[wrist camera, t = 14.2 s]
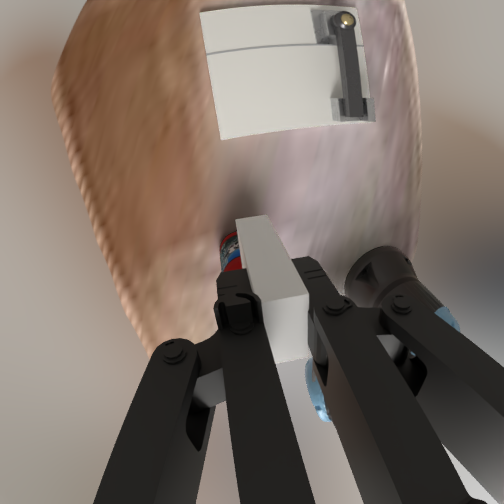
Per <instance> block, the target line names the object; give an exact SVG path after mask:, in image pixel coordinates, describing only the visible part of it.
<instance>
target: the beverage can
mask: <svg viewBox="0 0 504 504" xmlns="http://www.w3.org/2000/svg"><path fill="white" fill-rule="evenodd" d="M220 261H221V270H222V272H226V271H232V270H237V269H243V268H242V262H241V255H240V248H239V241H238V234H237V232H233V233H231V234H229V235H228V236H227V237H225V239H224V240H223V241H222V243H221V245H220Z"/></svg>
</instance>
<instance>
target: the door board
mask: <svg viewBox="0 0 504 504" xmlns="http://www.w3.org/2000/svg"><path fill="white" fill-rule="evenodd" d="M310 10H334V11H348V12H350V13H351V14H352V15H353V16H354V17H355V19H356V26H355V27H354V31H355V37H356V44H357V52H358V60H359V68H360V78H361V88H362V98H370V92H369V83H368V75H367V67H366V60H365V53H364V46H363V41H362V35H361V29H360V24H359V19H358V14H357V9H356V8H353V7H342V6H328V5H263V6H249V7H238V8H229V9H221V10H214V11H207V12H201V13H200V20H201V26H202V32H203V38H204V44H205V50H206V56H207V62H208V68H209V74H210V80H211V86H212V92H213V97H214V103H215V109H216V115H217V121H218V126H219V132H220V138H221V140H225V139H231V138H236V137H242V136H248V135H255V134H261V133H268V132H275V131H283V130H291V129H299V128H309V127H319V126H330V125H343V124H358V123H372V122H366V121H345V122H339V121H333V119H332V110H331V101H330V98H343V94H342V84H341V74H340V65H339V57H338V49H337V45H316V40H315V34H314V28H313V23H312V18H311V13H310Z"/></svg>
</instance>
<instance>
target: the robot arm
mask: <svg viewBox="0 0 504 504" xmlns="http://www.w3.org/2000/svg"><path fill="white" fill-rule="evenodd" d="M235 221H236V228H237V234H238V241H239V248H240V255H241V262H242V268H243V269H237V270H232V271H226V272H221V273H220V275H219V277H218V278H217V280H216V282H217V294H218V300H217V301H216V302H215V304H214V308H213V309H214V313H215V317H216V321H217V325H218V330H217V331H216V333H215V334H214V335H213V336H211V337H210V338H209V339H207V340H205V341H202V342H200V343H197V344H195V345H194V343H192V342H191V341H189V340H187V339H182V338H178V339H171V340H168V341H165V342H163V343H162V344H161V345H159V346H158V347H157V348H156V349H155V351H154V352H153V354H152V356H151V359H150V361H149V363H148V365H147V368H146V370H145V372H144V375H143V377H142V379H141V382H140V384H139V386H138V389H137V391H136V393H135V396H134V398H133V401H132V403H131V406H130V408H129V410H128V413H127V416H126V418H125V420H124V423H123V425H122V428H121V430H120V433H119V435H118V438H117V440H116V443H115V446H114V448H113V451H112V453H111V456H110V459H109V461H108V464H107V467H106V469H105V472H104V475H103V477H102V480H101V483H100V486H99V489H98V491H97V494H96V497H95V500H94V503H93V504H196V499H197V494H198V490H199V485H200V480H201V474H202V470H203V465H204V461H205V455H206V451H207V446H208V441H209V436H210V431H211V427H212V422H213V417H214V412H215V408H216V405H217V404H219V403H221V402H224V401H226V403H227V411H228V420H229V428H230V435H231V442H232V450H233V457H234V464H235V471H236V478H237V484H238V491H239V497H240V504H315V500H314V497H313V493H312V490H311V487H310V484H309V480H308V477H307V473H306V470H305V466H304V463H303V459H302V456H301V452H300V449H299V445H298V442H297V438H296V435H295V432H294V428H293V424H292V421H291V417H290V414H289V410H288V407H287V404H286V400H285V396H284V393H283V389H282V386H281V382H280V379H279V375H278V372H277V368H276V364H278V363H283V362H287V361H292V360H296V359H301V358H306V357H308V356H309V348H310V351H311V353H312V356H313V357H311V358H310V359H309V360H308V361H307V363H306V366H305V378H306V384H307V388H308V391H309V395H310V398H311V401H312V403H313V405H314V406H315V409H316V412H317V414H318V416H319V417H320V418H321V419H322V420H323V421H325V422H327V421H329V422H330V421H332V422H333V424H334V426H335V428H336V430H337V432H338V435H339V438H340V440H341V443H342V446H343V448H344V451H345V454H346V456H347V459H348V462H349V465H350V467H351V470H352V473H353V475H354V478H355V481H356V484H357V486H358V489H359V492H360V494H361V497H362V500H363V502H364V504H487V503H486V502H484V501H482V500H478V499H474V498H472V497H471V496H470V495H469V494H468V492H467V491H466V489H465V487H464V485H463V483H462V481H461V479H460V477H459V475H458V473H457V471H456V469H455V468H454V465H453V464H452V462H451V460H450V458H449V456H448V454H447V453H446V451H445V449H444V447H443V445H444V446H445V447H446V448H447V449H448V450H449V451H450V452H451V453H452V454H453V455H454V457H455V458H456V459H457V460H458V461H460V463H461V464H462V465H463V466H464V467H465V468H466V469H467V470H468V471H469V472H470V473H471V475H472V476H473V477H474V478H475V479H476V480H477V481H478V482H479V483H480V484H481V485H482V486H483V487H484V488H485V489H486V491H487V492H488V493H489V494H490V495H491V496H492V497H493V498H494V499H495V500H496V501H497V502H498V503H499V504H504V367H502V366H501V365H500V364H499V363H498V362H496V361H495V360H494V359H493V358H491V357H490V356H489V355H488V354H486V353H485V352H484V351H483V350H482V349H480V348H479V347H478V346H477V345H475V344H474V343H473V342H472V341H470V340H469V339H468V338H466V337H465V336H464V335H463V334H461V333H460V327H459V324H458V322H457V320H456V319H455V318H454V317H453V316H452V314H451V313H450V311H449V309H448V308H447V307H445V306H444V305H443V304H442V303H441V302H440V301H439V300H438V299H437V298H436V297H435V296H434V295H433V294H432V293H431V292H430V291H429V290H428V289H427V288H426V287H425V286H424V285H423V284H422V283H421V282H420V281H419V280H418V278H417V276H416V274H415V271H414V269H413V267H412V264H411V262H410V260H409V259H408V257H407V256H406V255H405V254H404V253H402V252H401V251H400V250H399V249H397V248H394V247H390V246H384V247H379V248H376V249H373V250H371V251H369V252H368V253H366V254H365V255H363V256H362V257H361V258H360V259H359V260H358V261H357V262H356V263H355V264H354V266H353V267H352V268H351V270H350V272H349V274H348V276H347V279H346V282H345V296H346V297H345V296H342V295H340V294H339V293H338V291H337V290H336V288H335V287H334V285H333V284H332V282H331V281H330V279H329V278H328V276H327V275H326V273H325V272H324V270H323V269H322V267H321V266H320V264H319V263H318V261H316V260H314V259H313V258H311V257H309V256H307V257H302V258H296V259H290V257H289V255H288V253H287V251H286V249H285V247H284V245H283V244H282V242H281V240H280V238H279V236H278V234H277V232H276V231H275V229H274V227H273V225H272V223H271V221H270V220H269V218H268V216H267V214H266V215H260V216H253V217H247V218H241V219H235ZM442 444H443V445H442Z"/></svg>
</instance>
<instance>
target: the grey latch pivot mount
mask: <svg viewBox="0 0 504 504" xmlns="http://www.w3.org/2000/svg"><path fill="white" fill-rule="evenodd" d="M339 12H340V11H334V10H310V13H311V18H312V23H313V28H314V34H315V40H316V45H337V42H336V35H335V29H334V28H333V26H332V24H331V18H332V16H333V15H335V14H337V13H339Z"/></svg>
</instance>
